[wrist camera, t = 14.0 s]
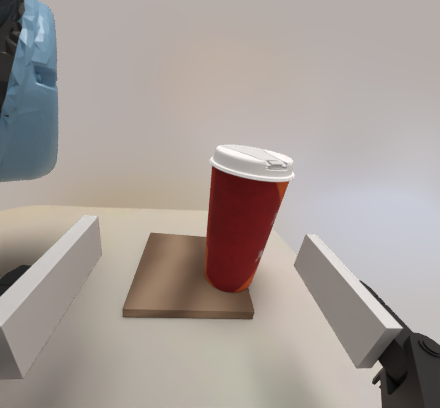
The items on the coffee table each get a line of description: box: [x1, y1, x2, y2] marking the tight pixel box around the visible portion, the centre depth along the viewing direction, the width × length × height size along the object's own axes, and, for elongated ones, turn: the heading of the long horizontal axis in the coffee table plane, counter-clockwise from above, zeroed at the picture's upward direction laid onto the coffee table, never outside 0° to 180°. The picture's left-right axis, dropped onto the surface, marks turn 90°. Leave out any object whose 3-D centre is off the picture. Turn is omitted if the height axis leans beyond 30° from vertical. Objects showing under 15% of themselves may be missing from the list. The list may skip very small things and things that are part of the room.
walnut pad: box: [123, 233, 254, 319], centre depth 25 cm, size 12×12×1 cm
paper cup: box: [204, 145, 295, 293], centre depth 21 cm, size 8×8×14 cm
